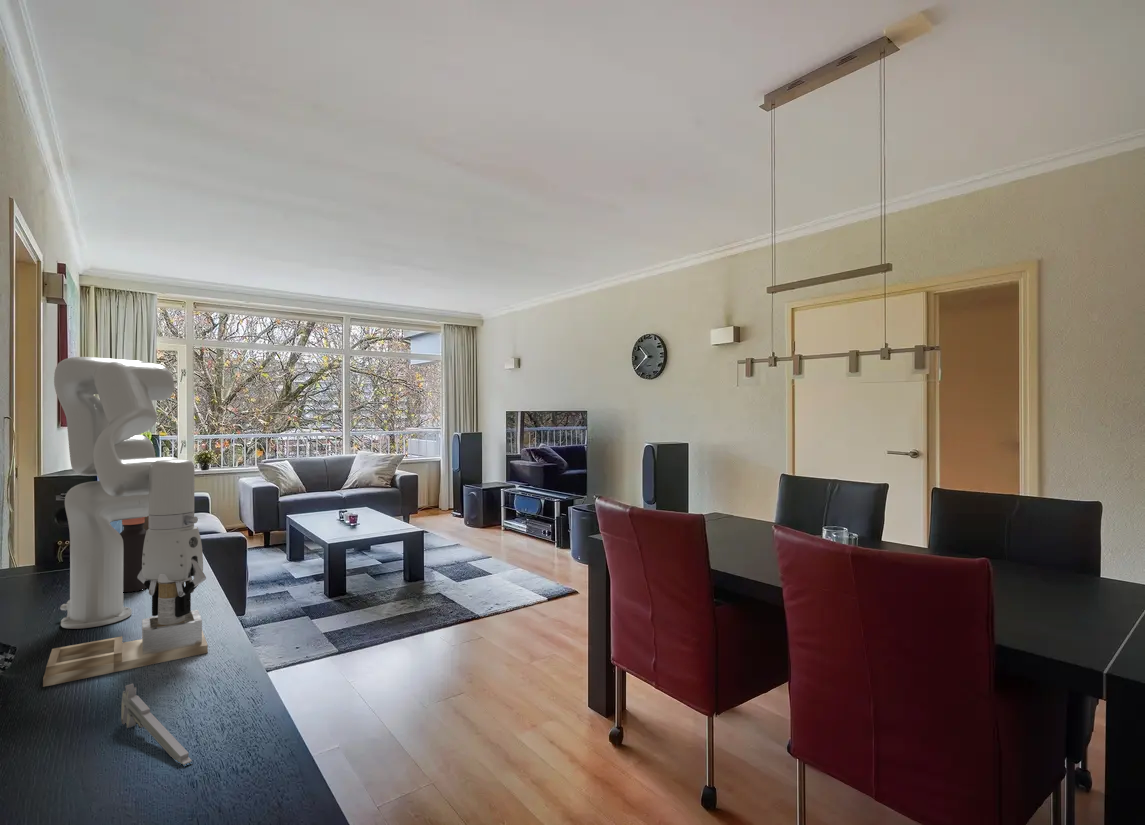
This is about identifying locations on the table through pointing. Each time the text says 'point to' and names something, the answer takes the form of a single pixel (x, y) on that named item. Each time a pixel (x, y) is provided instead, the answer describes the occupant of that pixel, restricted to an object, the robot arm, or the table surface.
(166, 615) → the sprinkles bottle
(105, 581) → the robot arm
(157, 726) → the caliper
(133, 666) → the stand board
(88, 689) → the table surface
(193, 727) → the table surface
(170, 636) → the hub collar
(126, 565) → the vinegar
